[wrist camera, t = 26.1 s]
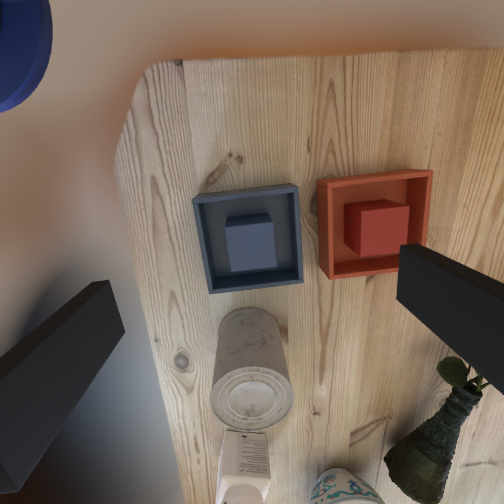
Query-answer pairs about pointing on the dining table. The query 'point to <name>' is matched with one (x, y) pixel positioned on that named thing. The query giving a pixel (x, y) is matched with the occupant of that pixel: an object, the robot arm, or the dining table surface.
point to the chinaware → (343, 489)
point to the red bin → (360, 190)
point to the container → (243, 469)
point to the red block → (375, 227)
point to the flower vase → (435, 438)
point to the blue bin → (240, 204)
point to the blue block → (250, 242)
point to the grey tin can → (250, 373)
